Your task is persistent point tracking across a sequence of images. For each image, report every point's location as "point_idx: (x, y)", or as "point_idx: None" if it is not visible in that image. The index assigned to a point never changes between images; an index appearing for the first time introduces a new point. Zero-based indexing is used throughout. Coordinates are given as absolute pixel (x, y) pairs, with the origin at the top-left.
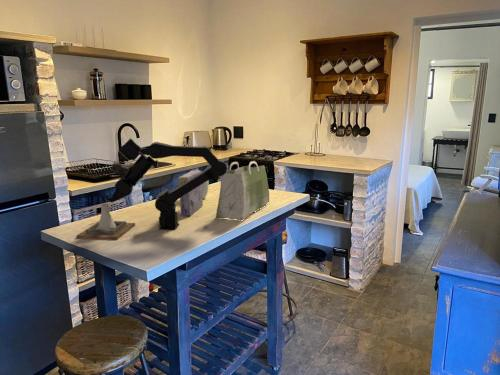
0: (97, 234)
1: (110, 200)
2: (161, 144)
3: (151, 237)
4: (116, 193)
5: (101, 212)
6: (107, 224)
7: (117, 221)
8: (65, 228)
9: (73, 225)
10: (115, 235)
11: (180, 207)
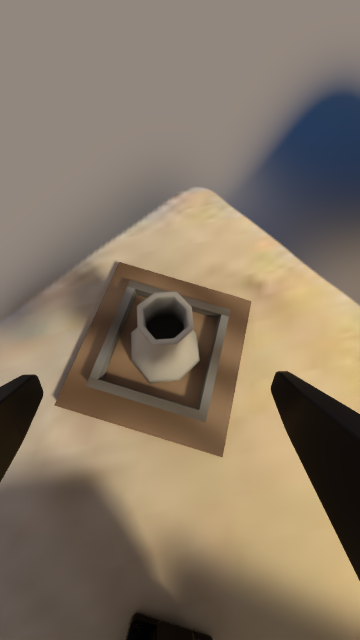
0: (110, 324)
1: (14, 384)
2: None
3: (29, 577)
4: None
5: (155, 313)
6: (136, 352)
7: (210, 381)
8: (219, 222)
9: (243, 236)
10: (76, 395)
11: None
